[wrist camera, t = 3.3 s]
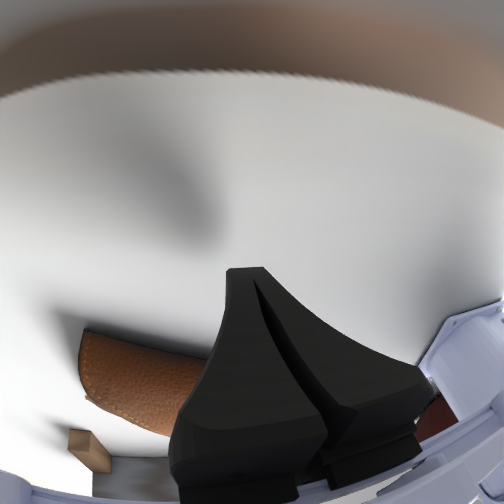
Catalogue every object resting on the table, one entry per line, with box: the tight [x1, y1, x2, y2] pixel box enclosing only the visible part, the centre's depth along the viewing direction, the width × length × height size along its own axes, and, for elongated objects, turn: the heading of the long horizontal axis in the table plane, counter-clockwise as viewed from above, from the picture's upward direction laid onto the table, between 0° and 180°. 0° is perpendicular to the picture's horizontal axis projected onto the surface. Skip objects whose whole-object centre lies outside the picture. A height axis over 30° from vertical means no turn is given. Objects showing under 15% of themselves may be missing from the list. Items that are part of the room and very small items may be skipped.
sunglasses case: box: [78, 329, 207, 437], centre depth 17 cm, size 18×7×7 cm
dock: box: [68, 429, 180, 502], centre depth 21 cm, size 27×9×5 cm, turn 86°
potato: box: [412, 395, 459, 469], centre depth 26 cm, size 11×13×10 cm
